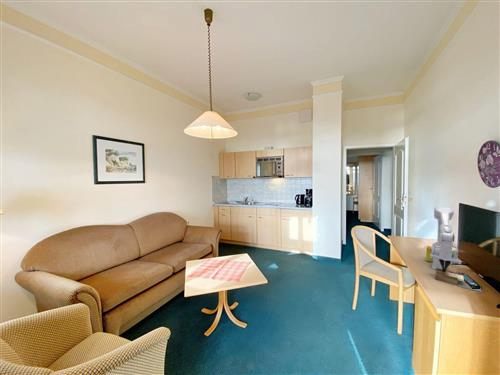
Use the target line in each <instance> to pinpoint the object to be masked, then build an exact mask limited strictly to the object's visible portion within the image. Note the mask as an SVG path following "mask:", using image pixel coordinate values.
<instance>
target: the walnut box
mask: <svg viewBox="0 0 500 375" xmlns="http://www.w3.org/2000/svg"><path fill="white" fill-rule="evenodd" d="M449 272H450V273H454V274H458V272H456V271H451V270H449ZM434 275H435V276H434V279H435V280H436V281H440V282H444V283H447V284H451V285H453V286H458V278H457V277H453V276H449V275H446V272H443V270H442V269H439V268H436V269H435V274H434Z"/></svg>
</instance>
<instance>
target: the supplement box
mask: <svg viewBox="0 0 500 375" xmlns="http://www.w3.org/2000/svg"><path fill="white" fill-rule="evenodd" d="M425 252H426V256H425V261H426V262H427V263H432V264H433V259H434V258H430V254H432V245H431V246H429V245H426V251H425Z"/></svg>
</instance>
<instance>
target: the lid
mask: <svg viewBox="0 0 500 375" xmlns="http://www.w3.org/2000/svg"><path fill="white" fill-rule="evenodd" d="M449 271H450V270H449V268H447V269H446V275H449V276H453V277H457V278H458V280H460V281H464V280H465V279H464V275H461V274H458V273H457V274H454V273H450V272H449Z"/></svg>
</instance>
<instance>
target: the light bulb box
mask: <svg viewBox="0 0 500 375" xmlns="http://www.w3.org/2000/svg"><path fill="white" fill-rule="evenodd" d="M458 256H459V248H455V247H452V257H451V258H453V259H457V260H459V259H458ZM453 264H455V263H453V262H451V264H450V265H453Z"/></svg>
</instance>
